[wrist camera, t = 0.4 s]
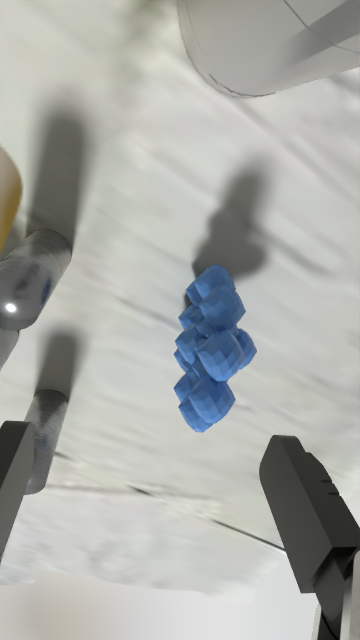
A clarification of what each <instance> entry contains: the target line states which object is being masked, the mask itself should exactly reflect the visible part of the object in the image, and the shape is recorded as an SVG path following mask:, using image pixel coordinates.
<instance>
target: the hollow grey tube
mask: <svg viewBox="0 0 360 640" xmlns="http://www.w3.org/2000/svg"><path fill="white" fill-rule="evenodd" d="M17 341H18V331H17V330H13V331H12V330H4V329H0V370H1V368H2V367H3V365H4V363H5V362H6V360H7V359H8V357H9V355H10V354H11V352H12V350H13V349H14V347H15V345H16V343H17Z"/></svg>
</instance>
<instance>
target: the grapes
mask: <svg viewBox="0 0 360 640" xmlns="http://www.w3.org/2000/svg"><path fill="white" fill-rule="evenodd" d="M235 290H236V288H235V285H234V283H233V281H232V278H231V276H230V274H229V273H228V271H227V270H226V269H225V268H224V267H222V266H219V265H217V264H215V265H212V266H209V267H208V268H207V269H206V270H205V271H204V272H203V273H202V274H201V275H200V276H199V277H198V278H197V279H196V280H195V281H194V282H192V283H191V284H190V286H189V287H188V288H187V289H186V292H187V294H188V296H189V298H190V300H191V302H192V303H193V304H191V305H190V306H189V307H188V308H187V309H186V310H185V311H184V312H183V313H182V314H181V315H180V316H179V317H178V318H179V320H180V322H181V325H182V326H183V328H184V329H185V330H184V331H183V332H182V333H181V334H180V335H179V337H178V338H177V339H176V340H175V343H176V345H177V347H178V349H177V350H176V352H175V353H174V356H175V358H176V360H177V362H178V363H179V365H180V367H181V368H182V369H183V371H185V372H186V374H185V375H183V376H182V378H181V379H180V380H179V381H178V383H177V384H176V385H175V387H174V390H175V392H176V394H177V396H178V398H179V400H180V401H181V404H180V405H179V409H180V411H181V413H182V415H183V417H184V419H185V421H186V422H187V424H188V425H189V426H190V427H191V428H192V429H193V430H195V431H196V432H204V431H205V430H207V429H208V428H209V427H211V426H212V425H213V424H215V423H217V422H218V421H219V420H221V419H222V418H223V417H224V416H226V414H227V413H228V411H229V410H230V409H231V407H232V405H233V404H234V402H235V400H236V399H235V397H234V395H233V393H232V391H231V389H230V388H229V386H228V385H227V383H226V382H227V381H228V379H229V378H231V377H232V376H233V375H234V374H236V373H237V371H238V370H239V369H242V368H244V367H245V366H246V365H248V364H249V363H250V361H251V360H252V359H253V357H254V356H255V354H256V352H257V350H256V348H255V346H254V343H253V341H252V339H251V338H250V336H249V335H248V333H247V332H245V331H244V330H242V329H238V328H237V326H236V324H237V323H238V321H239V320H240V319H241V317H242V316H243V315H244V313H245V312H246V311H245V308H244V306H243V304H242V301H241V299H240V297H239V295H238V294H237V292H236V291H235Z"/></svg>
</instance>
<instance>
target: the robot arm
mask: <svg viewBox="0 0 360 640" xmlns="http://www.w3.org/2000/svg"><path fill="white" fill-rule="evenodd" d="M178 19H179V25H180V31H181V36H182V39H183V42H184V45H185V48H186V51H187V54H188V56H189V58H190V59H191V61H192V63H193V65H194V67H195V68H196V70H197V71H198V72H199V74H200V75H201V76H202V77H203V78H204V79H205V81H206V82H207V83H208V84H210V85H211V86H213V87H214V88H215V89H217V90H218V91H219V92H222V93H224V94H227V95H229V96H232V97H238V98H246V99H247V98H254V97H262V96H266V95H270V94H274V93H275V92H277V91H281V90H285V89H288V88H291V87H295V86H298V85H301V84H304V83H308V82H311V81H314V80H317V79H321V78H324V77H327V76H331V75H334V74H337V73H340V72H344V71H347V70H350V69H353V68H357V67H360V0H178ZM33 463H34V436H33V423H32V422H25V421H5V422H4V423H3V425H2V426H1V428H0V561H1V558H2V555H3V552H4V549H5V546H6V544H7V541H8V538H9V535H10V532H11V530H12V527H13V524H14V521H15V518H16V516H17V513H18V510H19V507H20V504H21V501H22V499H23V496H24V493H25V490H26V487H27V485H28V482H29V479H30V476H31V473H32V468H33ZM259 475H260V481H261V484H262V487H263V490H264V493H265V495H266V498H267V501H268V504H269V506H270V509H271V512H272V515H273V517H274V520H275V523H276V526H277V529H278V531H279V534H280V537H281V540H282V542H283V545H284V548H285V551H286V553H287V556H288V559H289V562H290V564H291V567H292V570H293V572H294V575H295V578H296V581H297V584H298V586H299V589H300V592H301V593H316V596H317V598H318V601H319V604H318V606H317V609H316V614H315V621H314V627H313V633H312V640H360V528H359V526H358V524H357V523H356V521H355V519H354V517H353V516H352V514H351V512H350V510H349V509H348V507H347V505H346V504H345V502H344V500H343V499H342V497H341V496H339V492H338V490H337V488H336V487H335V485H334V483H332V480H331V478H330V476H329V475H328V473H327V471H326V469H325V468H324V466H323V465H322V464H321V463H320V462H319V461H318V460H317V459H316V458H315V457H314V456H313V455H312V454H311V453H309V452H305V450H304V448H303V446H302V445H301V443H300V441H299V439H298V438H297V437H295V436H284V435H273V436H272V437H271V439H270V442H269V444H268V447H267V449H266V451H265V454H264V456H263V458H262V461H261V463H260V468H259Z"/></svg>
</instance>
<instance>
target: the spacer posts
mask: <svg viewBox="0 0 360 640" xmlns="http://www.w3.org/2000/svg"><path fill="white" fill-rule="evenodd" d="M70 261H71V249H70V246H69V244H68V242H67V241H66V240H65V238H63V237H62V236H61V235H60V234H58V233H56V232H54V231H51V230H46V229H42V230H37V231H35V232H33V233H31V234H30V235H29V236H28V237H27V238H26V239H25V240H23V241H22V242H21V243H20V244H19V245H18V246H17V247H16V248H14V249H13V250H12V251H11V252H10V253H9V254H8V255H7V256H5V257H4V258H3V259H2V260H1V261H0V329H4V330H12V331H13V330H21V329H25V328H27V327H29V326H31V325H32V324H33V323H34V322H35V321H36V320H37V318H38V316H39V314H40V313H41V311H42V309H43V308H44V306H45V304H46V302H47V301H48V299H49V297H50V296H51V294H52V292H53V290H54V289H55V287H56V285H57V284H58V282H59V280H60V278H61V277H62V275H63V273H64V272H65V270H66V268H67V266H68V265H69V263H70ZM67 407H68V400H67V398H66V397H65V396H64V395H63V394H61V393H59V392H57V391H53V390H45V391H41V392H39V393H37V394H36V395H35V396H34V398H33V401H32V403H31V405H30V408H29V410H28V413H27V415H26V417H25V420H24V421H25V422H32V423H33V436H34V463H33V468H32V473H31V476H30V479H29V482H28V485H27V487H26V490H25V493H24V495H29V494H34V493H37V492H39V491H41V490H42V489H43V488H44V487H45V484H46V481H47V477H48V474H49V470H50V467H51V463H52V460H53V456H54V453H55V449H56V446H57V442H58V439H59V435H60V431H61V428H62V424H63V421H64V417H65V414H66V410H67Z"/></svg>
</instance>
